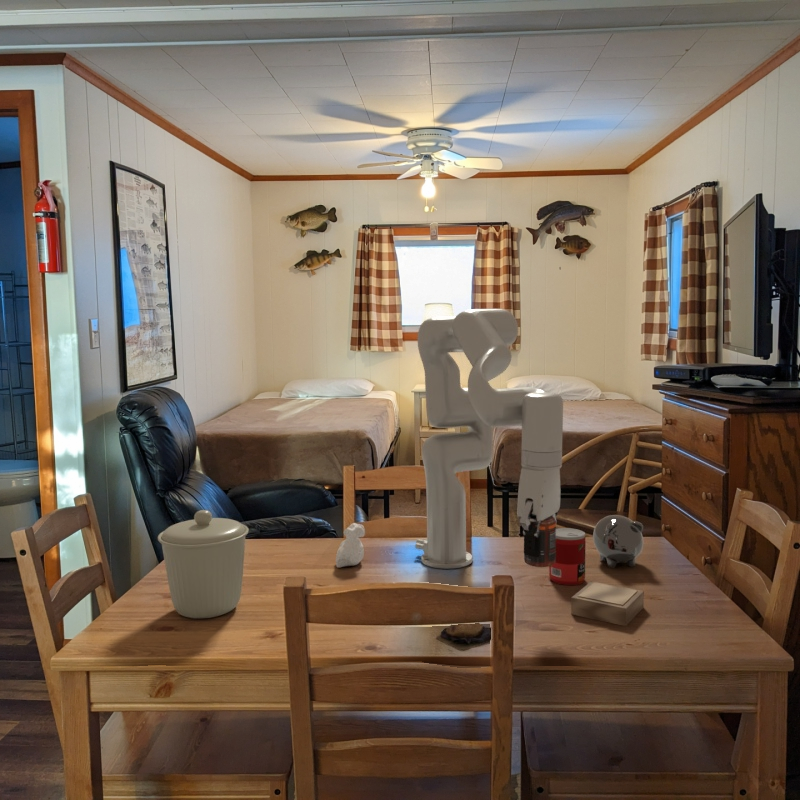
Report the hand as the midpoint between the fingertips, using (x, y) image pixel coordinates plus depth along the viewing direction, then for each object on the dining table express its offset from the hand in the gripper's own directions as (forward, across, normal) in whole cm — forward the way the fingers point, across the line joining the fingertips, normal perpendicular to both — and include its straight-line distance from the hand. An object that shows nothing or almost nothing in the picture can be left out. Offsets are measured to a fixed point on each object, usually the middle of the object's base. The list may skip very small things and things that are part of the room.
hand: (539, 549), depth 143 cm
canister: (+16, +30, -61) cm, 70 cm away
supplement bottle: (+3, 0, 0) cm, 3 cm away
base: (+15, -13, +9) cm, 22 cm away
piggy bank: (+16, -43, +1) cm, 46 cm away
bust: (+17, -9, -54) cm, 57 cm away
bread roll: (+16, +12, -8) cm, 22 cm away
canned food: (+16, -26, -5) cm, 31 cm away
